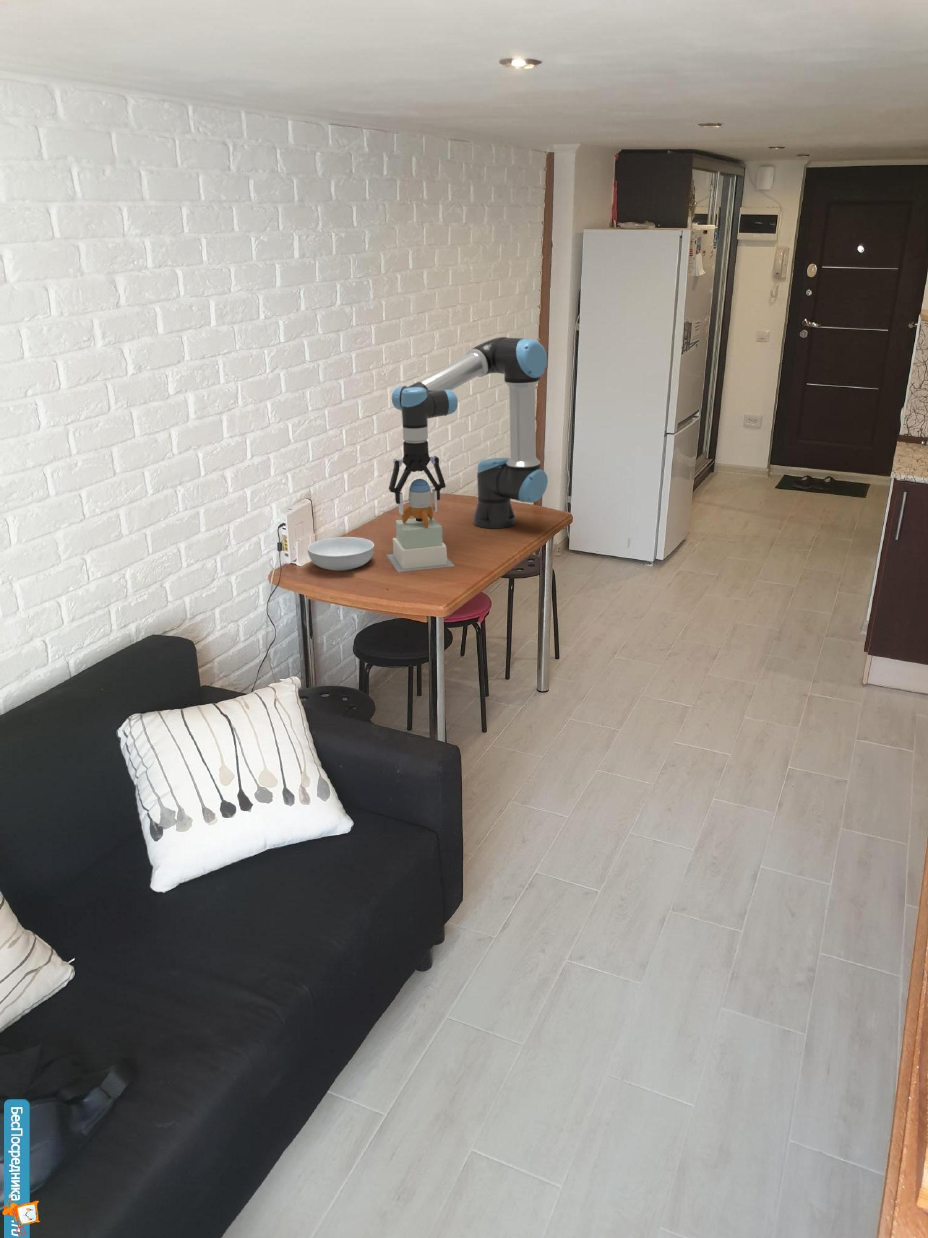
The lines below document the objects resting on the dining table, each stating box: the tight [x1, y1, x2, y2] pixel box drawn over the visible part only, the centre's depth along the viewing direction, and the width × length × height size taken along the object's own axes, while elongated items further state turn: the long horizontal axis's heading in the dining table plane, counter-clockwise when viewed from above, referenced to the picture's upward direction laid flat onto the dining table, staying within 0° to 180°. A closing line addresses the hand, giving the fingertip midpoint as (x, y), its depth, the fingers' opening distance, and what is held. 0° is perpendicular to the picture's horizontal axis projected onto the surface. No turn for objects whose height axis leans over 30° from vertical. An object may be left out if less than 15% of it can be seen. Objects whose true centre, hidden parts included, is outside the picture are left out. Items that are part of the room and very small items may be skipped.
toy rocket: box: [401, 478, 434, 528], centre depth 292 cm, size 10×11×15 cm
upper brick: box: [395, 517, 443, 549], centre depth 297 cm, size 12×12×6 cm
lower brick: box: [392, 537, 448, 569], centre depth 299 cm, size 14×14×6 cm
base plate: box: [386, 553, 455, 573], centre depth 300 cm, size 18×18×1 cm
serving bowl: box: [307, 536, 375, 572], centre depth 298 cm, size 21×21×7 cm
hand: (418, 512), depth 294 cm, fingers open, 10 cm apart
